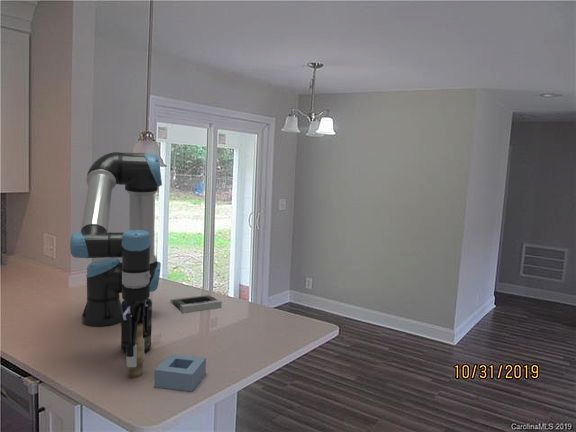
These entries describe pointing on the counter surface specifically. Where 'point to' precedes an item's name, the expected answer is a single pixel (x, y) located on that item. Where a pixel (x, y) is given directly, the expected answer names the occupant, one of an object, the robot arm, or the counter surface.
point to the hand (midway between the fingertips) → (135, 362)
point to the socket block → (180, 372)
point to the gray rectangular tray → (196, 303)
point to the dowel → (138, 353)
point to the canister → (146, 340)
